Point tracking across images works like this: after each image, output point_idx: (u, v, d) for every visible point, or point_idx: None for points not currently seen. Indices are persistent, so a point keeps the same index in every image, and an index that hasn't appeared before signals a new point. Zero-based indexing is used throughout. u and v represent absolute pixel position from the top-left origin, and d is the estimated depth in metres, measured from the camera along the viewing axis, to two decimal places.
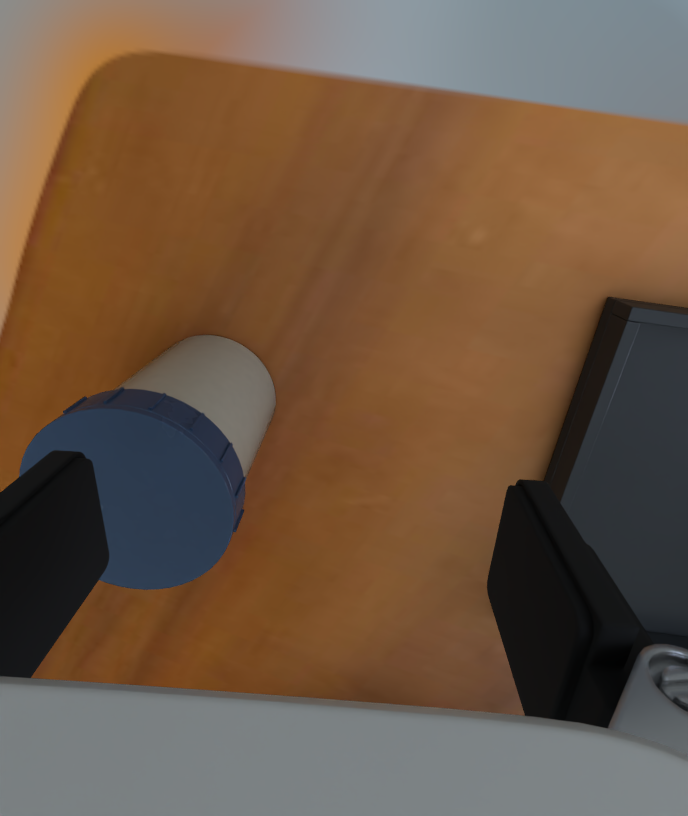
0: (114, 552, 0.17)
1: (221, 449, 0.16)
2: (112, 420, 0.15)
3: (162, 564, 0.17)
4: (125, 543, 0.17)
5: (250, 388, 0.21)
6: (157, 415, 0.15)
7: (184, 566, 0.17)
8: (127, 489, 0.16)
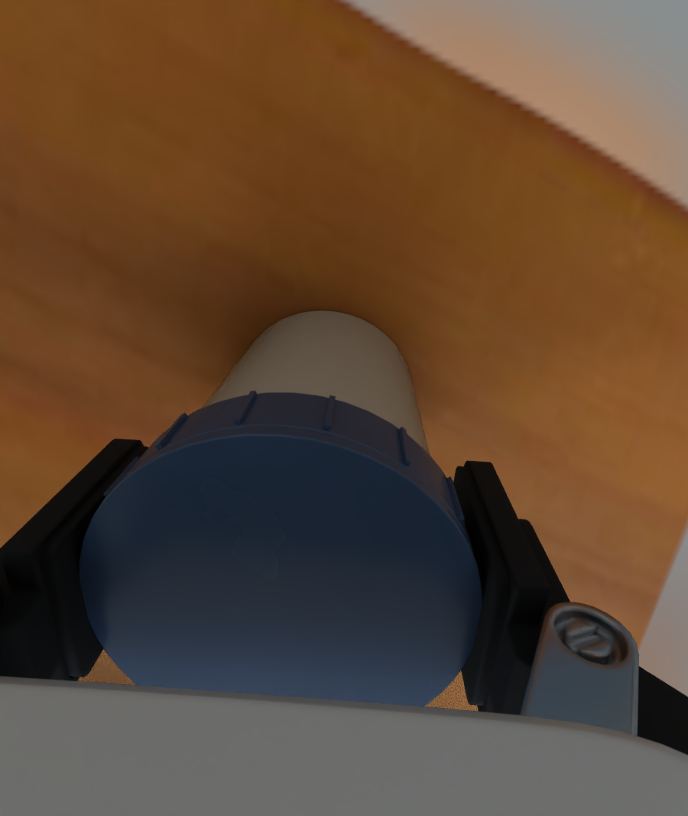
0: (164, 582, 0.08)
1: None
2: (460, 614, 0.08)
3: (160, 651, 0.09)
4: (193, 603, 0.08)
5: None
6: None
7: (166, 679, 0.09)
8: (318, 619, 0.09)
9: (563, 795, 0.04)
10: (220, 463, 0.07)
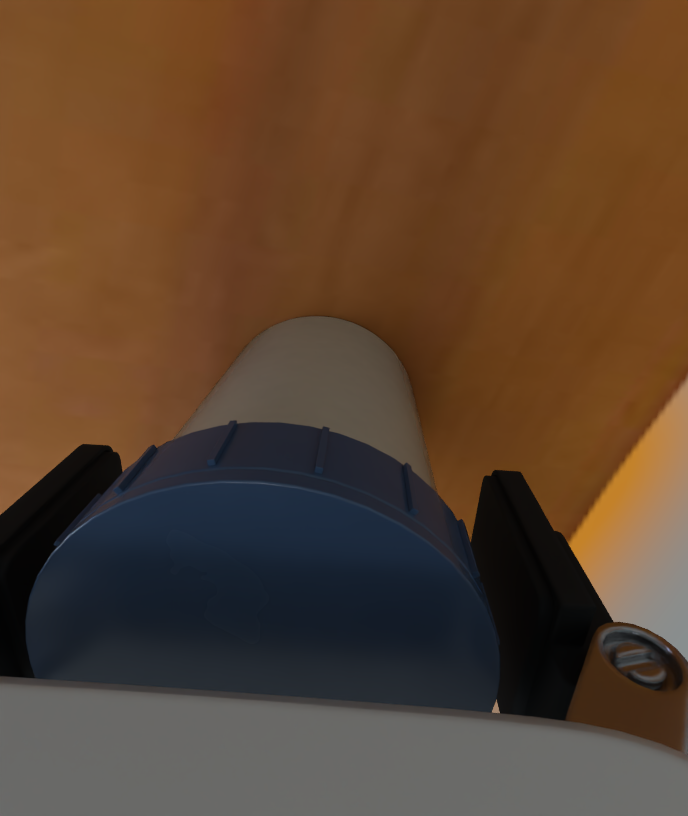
0: (126, 646, 0.07)
1: None
2: (473, 684, 0.07)
3: None
4: (160, 669, 0.07)
5: None
6: None
7: None
8: (308, 688, 0.07)
9: (563, 795, 0.04)
10: (189, 514, 0.06)
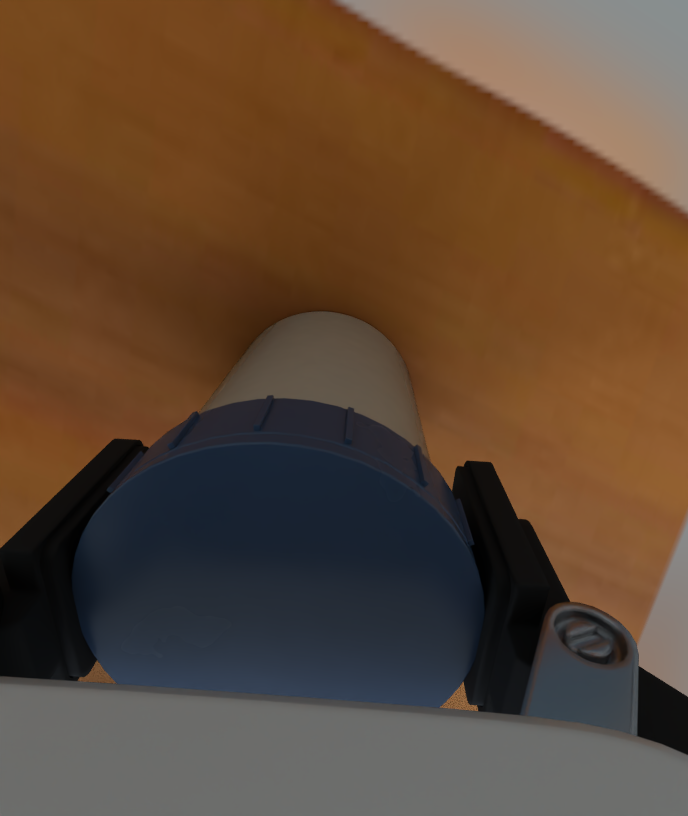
0: None
1: (459, 516, 0.08)
2: (277, 466, 0.07)
3: None
4: (263, 683, 0.09)
5: None
6: (366, 456, 0.07)
7: None
8: (284, 594, 0.08)
9: (563, 795, 0.04)
10: (106, 637, 0.09)
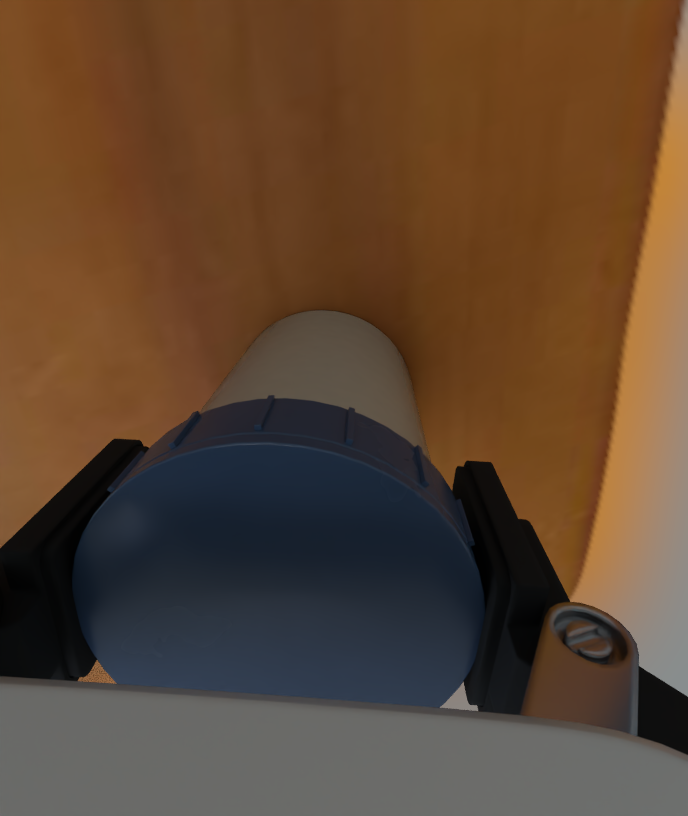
0: None
1: (459, 516, 0.08)
2: (278, 466, 0.07)
3: None
4: (263, 683, 0.09)
5: None
6: (367, 456, 0.07)
7: None
8: (284, 594, 0.08)
9: (563, 795, 0.04)
10: (106, 636, 0.09)
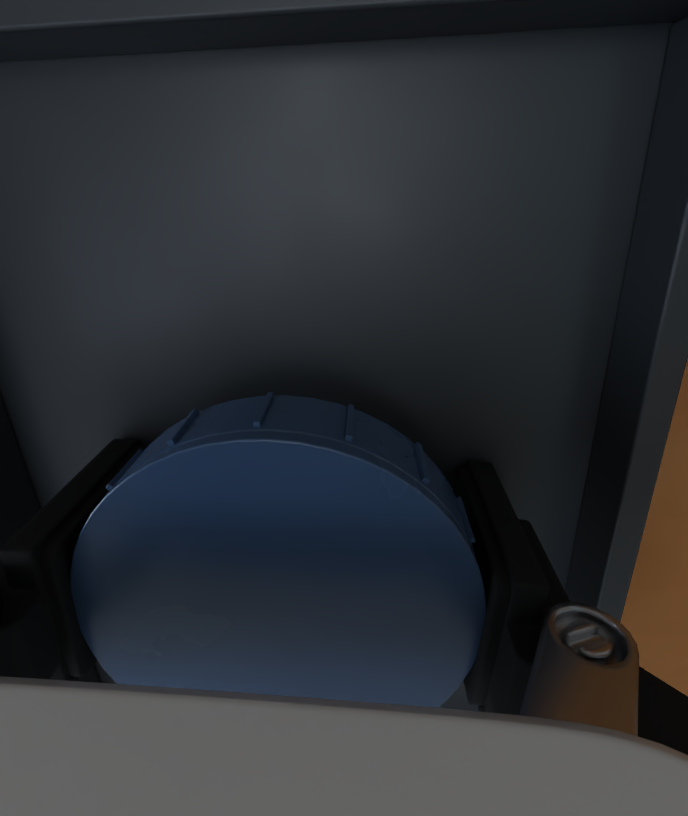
0: None
1: (460, 514, 0.08)
2: (277, 463, 0.07)
3: None
4: (263, 682, 0.09)
5: None
6: (366, 453, 0.07)
7: None
8: (284, 592, 0.08)
9: (563, 795, 0.04)
10: (105, 635, 0.09)
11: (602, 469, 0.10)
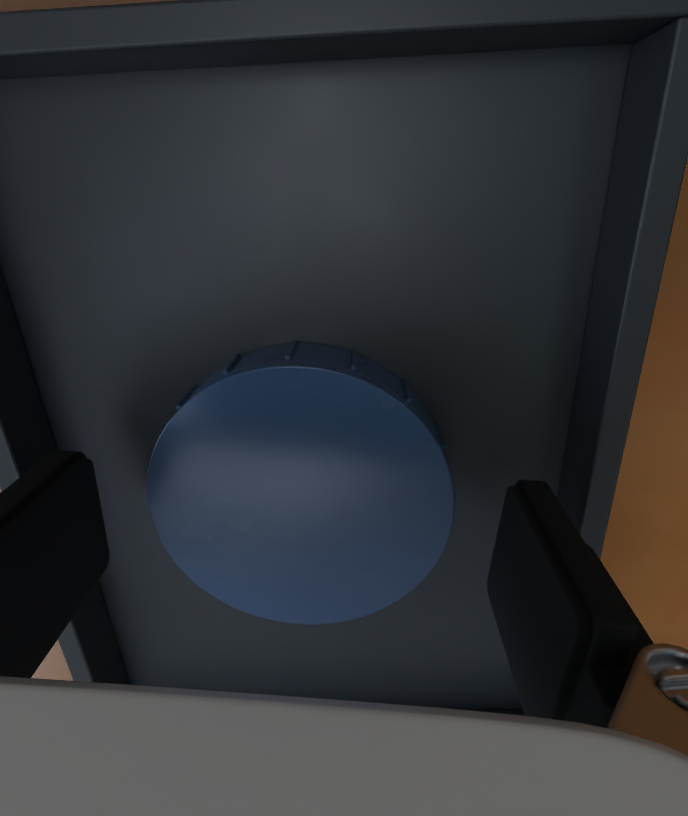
0: (269, 574, 0.12)
1: (436, 430, 0.11)
2: (302, 384, 0.10)
3: (335, 591, 0.12)
4: (288, 562, 0.12)
5: None
6: (366, 378, 0.10)
7: (366, 594, 0.12)
8: (305, 486, 0.11)
9: (563, 795, 0.04)
10: (170, 523, 0.11)
11: (578, 441, 0.11)
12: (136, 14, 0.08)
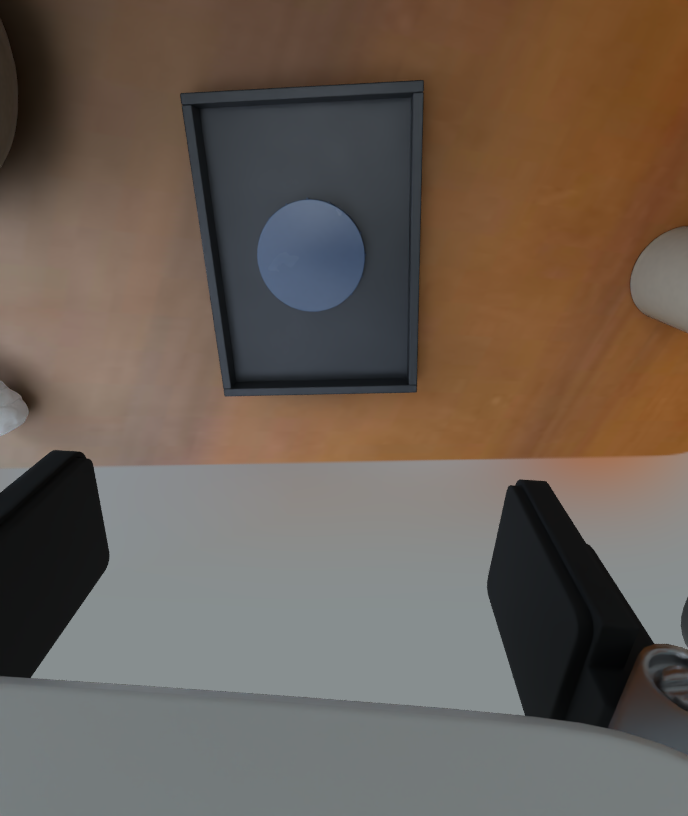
0: (299, 287, 0.32)
1: (358, 229, 0.32)
2: (312, 206, 0.30)
3: (323, 294, 0.33)
4: (306, 281, 0.32)
5: (661, 316, 0.32)
6: (333, 205, 0.31)
7: (335, 295, 0.33)
8: (313, 247, 0.31)
9: (563, 795, 0.04)
10: (264, 264, 0.32)
11: (409, 234, 0.32)
12: (267, 91, 0.28)
